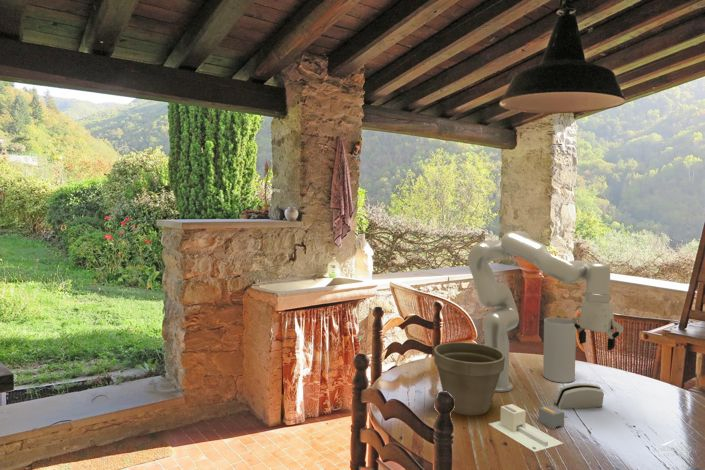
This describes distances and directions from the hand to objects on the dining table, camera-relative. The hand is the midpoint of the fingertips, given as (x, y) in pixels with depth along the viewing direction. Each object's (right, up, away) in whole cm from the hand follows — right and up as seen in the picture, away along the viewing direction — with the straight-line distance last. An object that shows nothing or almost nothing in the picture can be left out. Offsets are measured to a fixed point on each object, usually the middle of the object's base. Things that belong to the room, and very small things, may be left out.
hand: (596, 346), depth 164 cm
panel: (-31, -25, -15) cm, 43 cm away
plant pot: (-44, -25, +6) cm, 51 cm away
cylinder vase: (+3, -23, +37) cm, 44 cm away
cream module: (-33, -24, -10) cm, 42 cm away
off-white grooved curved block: (-2, -25, +8) cm, 26 cm away
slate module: (-20, -25, -9) cm, 33 cm away
